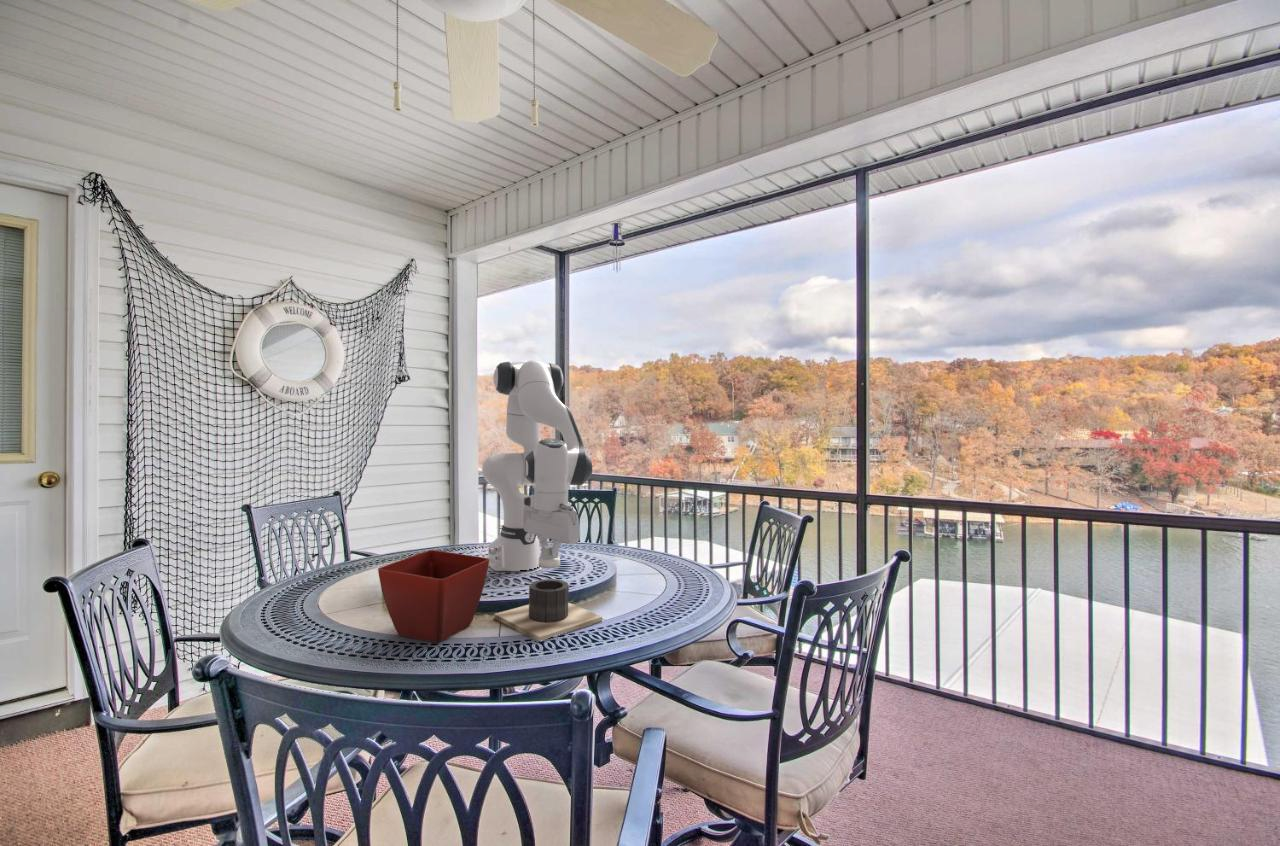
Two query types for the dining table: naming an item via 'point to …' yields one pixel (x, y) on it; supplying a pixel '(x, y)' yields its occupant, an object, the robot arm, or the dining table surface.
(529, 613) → the stand
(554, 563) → the white short cylinder
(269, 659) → the dining table surface
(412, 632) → the plant pot
